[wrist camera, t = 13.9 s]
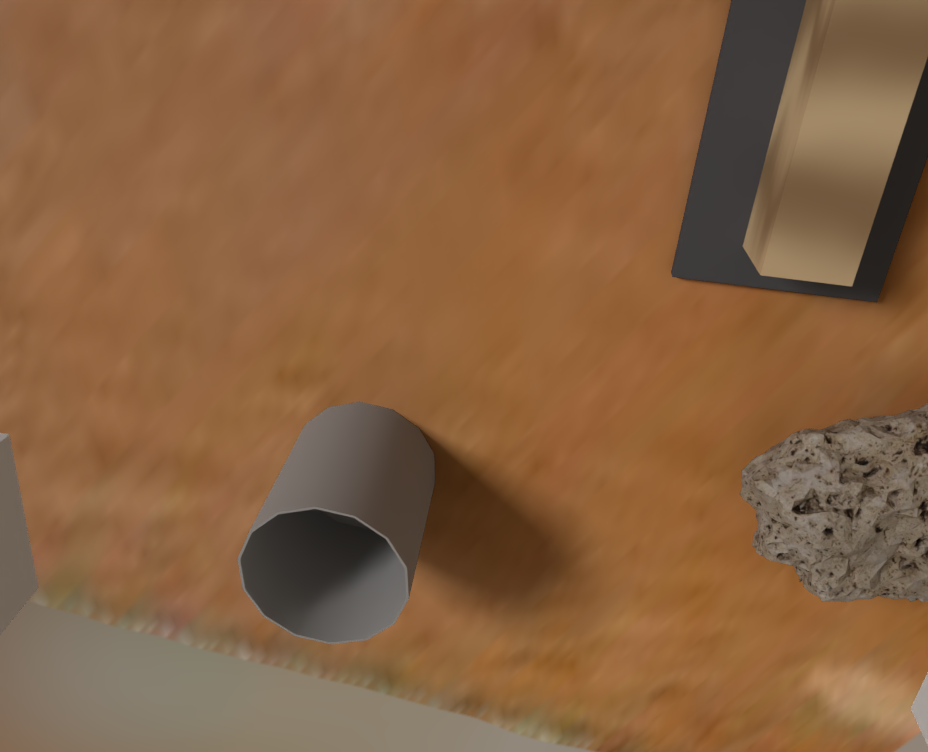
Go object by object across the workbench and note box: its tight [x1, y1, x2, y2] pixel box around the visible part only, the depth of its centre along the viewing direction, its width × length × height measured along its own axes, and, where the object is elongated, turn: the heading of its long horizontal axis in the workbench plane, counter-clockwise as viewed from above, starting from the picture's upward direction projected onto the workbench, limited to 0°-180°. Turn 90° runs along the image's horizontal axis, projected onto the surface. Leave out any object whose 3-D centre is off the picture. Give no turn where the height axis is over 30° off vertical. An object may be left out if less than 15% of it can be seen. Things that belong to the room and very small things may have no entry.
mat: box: [671, 0, 928, 302], centre depth 36 cm, size 24×10×1 cm, turn 174°
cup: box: [238, 402, 435, 644], centre depth 45 cm, size 8×8×10 cm
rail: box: [743, 0, 928, 286], centre depth 34 cm, size 20×4×4 cm, turn 174°
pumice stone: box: [740, 403, 928, 602], centre depth 42 cm, size 14×12×8 cm
